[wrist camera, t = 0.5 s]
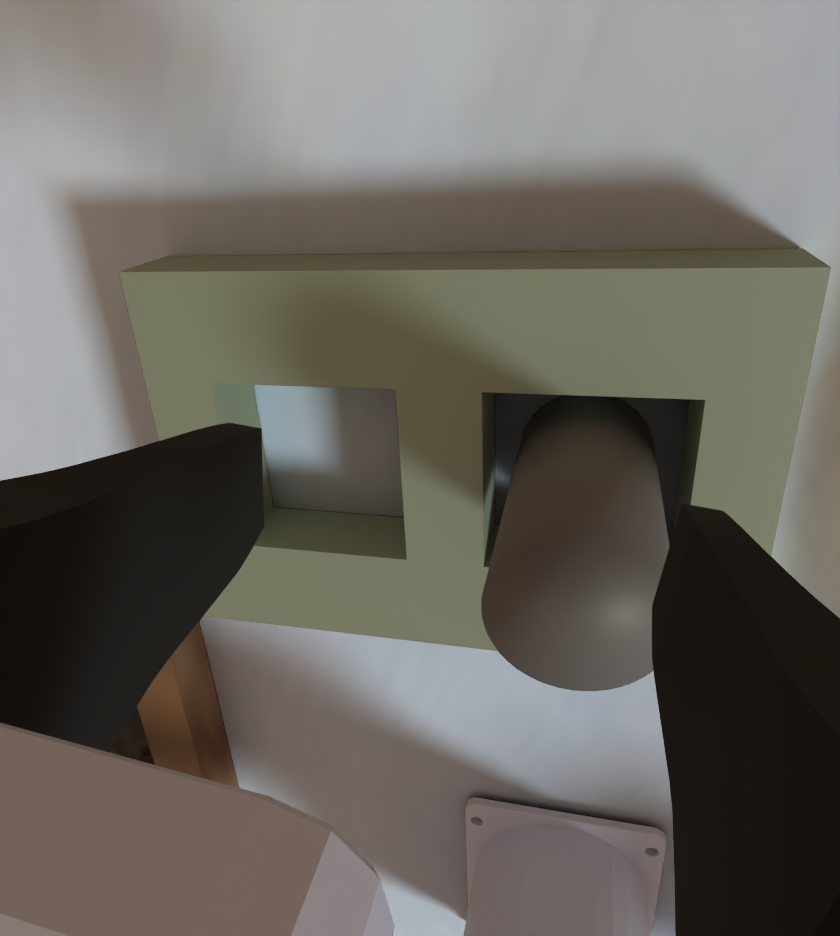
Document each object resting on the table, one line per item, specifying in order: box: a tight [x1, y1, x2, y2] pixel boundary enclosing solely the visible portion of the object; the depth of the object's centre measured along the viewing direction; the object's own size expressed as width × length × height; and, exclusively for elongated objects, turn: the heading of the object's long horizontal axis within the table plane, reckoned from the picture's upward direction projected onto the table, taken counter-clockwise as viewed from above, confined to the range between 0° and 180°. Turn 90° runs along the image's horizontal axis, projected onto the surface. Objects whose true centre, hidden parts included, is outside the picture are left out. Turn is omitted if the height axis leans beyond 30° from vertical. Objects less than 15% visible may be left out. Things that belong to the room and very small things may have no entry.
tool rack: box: [119, 248, 831, 691], centre depth 19 cm, size 12×18×8 cm, turn 93°
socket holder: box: [137, 622, 239, 788], centre depth 31 cm, size 12×10×2 cm
